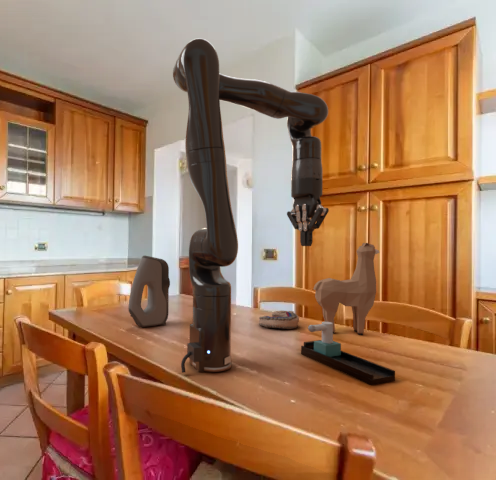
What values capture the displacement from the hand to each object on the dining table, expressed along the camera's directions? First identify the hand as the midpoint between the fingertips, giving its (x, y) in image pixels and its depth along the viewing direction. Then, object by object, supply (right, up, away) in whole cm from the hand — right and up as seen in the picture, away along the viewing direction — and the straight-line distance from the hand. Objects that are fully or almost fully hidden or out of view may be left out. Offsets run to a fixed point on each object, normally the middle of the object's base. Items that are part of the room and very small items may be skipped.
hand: (306, 246), depth 86 cm
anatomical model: (+4, -30, +34) cm, 45 cm away
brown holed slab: (-43, -29, +33) cm, 61 cm away
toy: (+23, -30, +26) cm, 45 cm away
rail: (+7, -29, -5) cm, 30 cm away
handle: (+4, -28, -1) cm, 28 cm away
